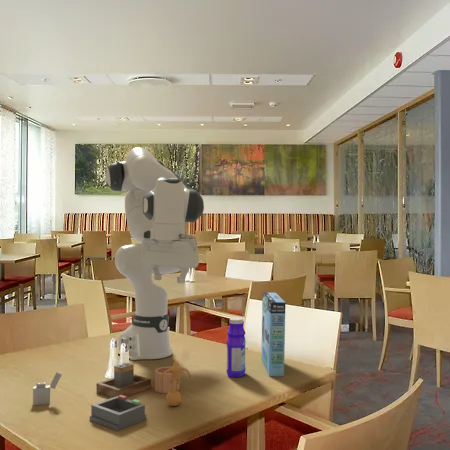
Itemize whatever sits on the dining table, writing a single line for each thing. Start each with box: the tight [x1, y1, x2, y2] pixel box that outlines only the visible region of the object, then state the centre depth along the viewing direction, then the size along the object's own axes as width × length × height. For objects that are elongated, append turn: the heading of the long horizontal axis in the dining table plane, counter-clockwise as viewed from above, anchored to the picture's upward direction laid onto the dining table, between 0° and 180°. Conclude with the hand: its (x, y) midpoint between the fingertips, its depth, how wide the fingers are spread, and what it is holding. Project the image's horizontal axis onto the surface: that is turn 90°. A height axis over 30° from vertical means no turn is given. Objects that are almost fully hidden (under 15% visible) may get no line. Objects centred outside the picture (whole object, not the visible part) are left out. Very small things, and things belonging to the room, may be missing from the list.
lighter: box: [32, 370, 63, 406], centre depth 137 cm, size 7×2×8 cm, turn 105°
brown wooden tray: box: [95, 374, 152, 398], centre depth 147 cm, size 9×12×2 cm
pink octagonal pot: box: [154, 366, 181, 395], centre depth 148 cm, size 7×7×5 cm
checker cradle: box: [89, 395, 147, 432], centre depth 126 cm, size 10×9×4 cm
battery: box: [113, 361, 135, 388], centre depth 147 cm, size 3×4×6 cm, turn 142°
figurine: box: [159, 360, 192, 407], centre depth 134 cm, size 8×6×12 cm
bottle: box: [226, 316, 247, 378], centre depth 162 cm, size 7×6×17 cm
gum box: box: [260, 292, 286, 378], centre depth 169 cm, size 20×5×23 cm, turn 3°
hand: (169, 281), depth 152 cm, fingers open, 8 cm apart
